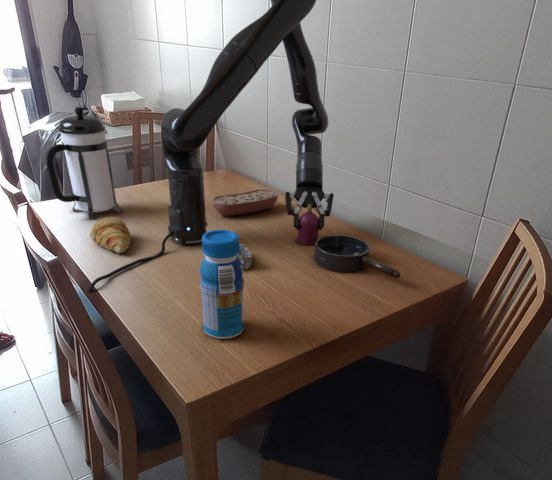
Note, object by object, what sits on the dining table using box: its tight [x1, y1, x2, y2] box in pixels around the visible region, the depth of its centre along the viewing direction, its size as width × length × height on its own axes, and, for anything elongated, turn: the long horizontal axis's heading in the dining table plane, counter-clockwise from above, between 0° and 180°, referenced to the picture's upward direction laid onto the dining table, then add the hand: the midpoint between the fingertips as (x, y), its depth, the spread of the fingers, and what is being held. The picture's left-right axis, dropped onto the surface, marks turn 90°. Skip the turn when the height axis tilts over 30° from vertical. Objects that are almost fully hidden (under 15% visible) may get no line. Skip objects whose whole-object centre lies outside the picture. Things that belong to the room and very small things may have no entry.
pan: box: [313, 234, 371, 273], centre depth 126 cm, size 14×14×4 cm
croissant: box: [89, 215, 132, 254], centre depth 131 cm, size 21×10×8 cm, turn 32°
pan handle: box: [361, 257, 401, 279], centre depth 117 cm, size 12×2×2 cm, turn 40°
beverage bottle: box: [199, 229, 245, 340], centre depth 92 cm, size 8×8×20 cm
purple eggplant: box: [296, 204, 319, 246], centre depth 134 cm, size 6×6×11 cm
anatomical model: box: [212, 188, 279, 217], centre depth 155 cm, size 23×10×5 cm, turn 124°
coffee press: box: [45, 106, 122, 220], centre depth 143 cm, size 17×16×30 cm
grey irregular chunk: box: [237, 243, 253, 270], centre depth 123 cm, size 11×8×4 cm
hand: (308, 228), depth 133 cm, fingers closed on purple eggplant, 6 cm apart
